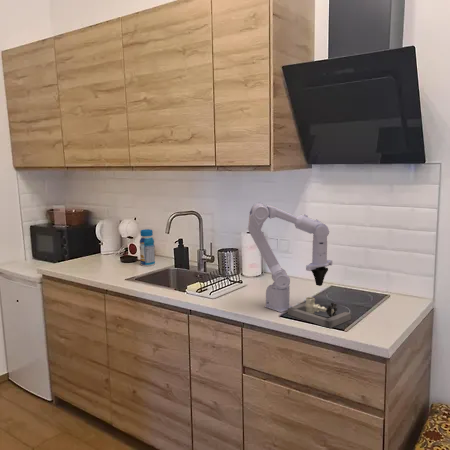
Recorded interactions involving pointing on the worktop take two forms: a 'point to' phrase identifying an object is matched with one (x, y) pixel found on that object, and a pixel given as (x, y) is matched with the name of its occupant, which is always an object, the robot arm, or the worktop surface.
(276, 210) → the robot arm
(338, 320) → the chassis bay
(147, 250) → the beverage bottle
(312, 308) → the valve
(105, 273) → the worktop surface
